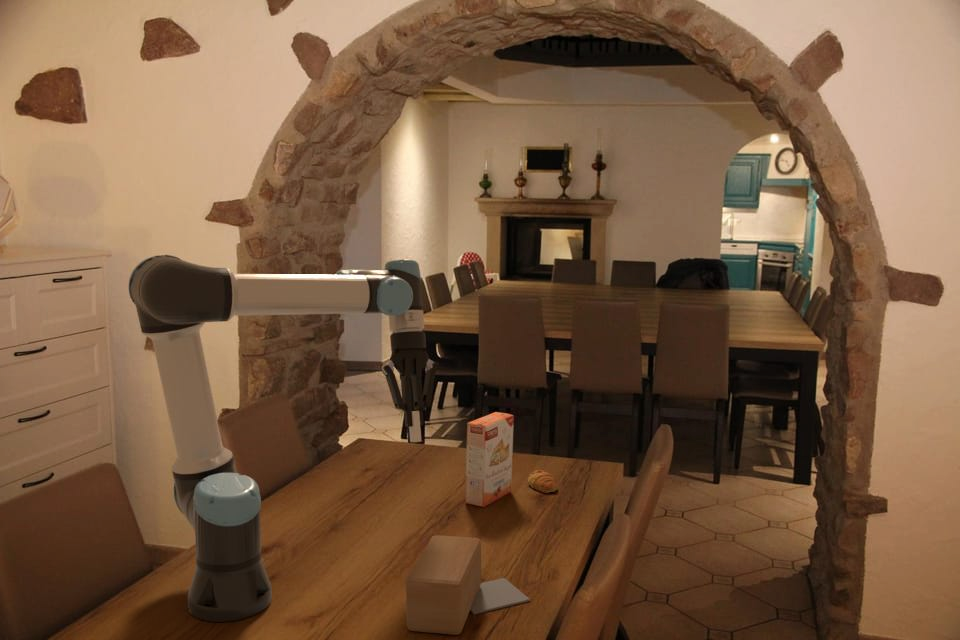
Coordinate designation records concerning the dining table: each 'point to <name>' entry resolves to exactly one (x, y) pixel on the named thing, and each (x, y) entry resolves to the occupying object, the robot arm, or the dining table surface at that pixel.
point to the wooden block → (444, 585)
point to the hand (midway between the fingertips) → (415, 441)
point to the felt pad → (496, 596)
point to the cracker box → (489, 458)
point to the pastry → (542, 481)
